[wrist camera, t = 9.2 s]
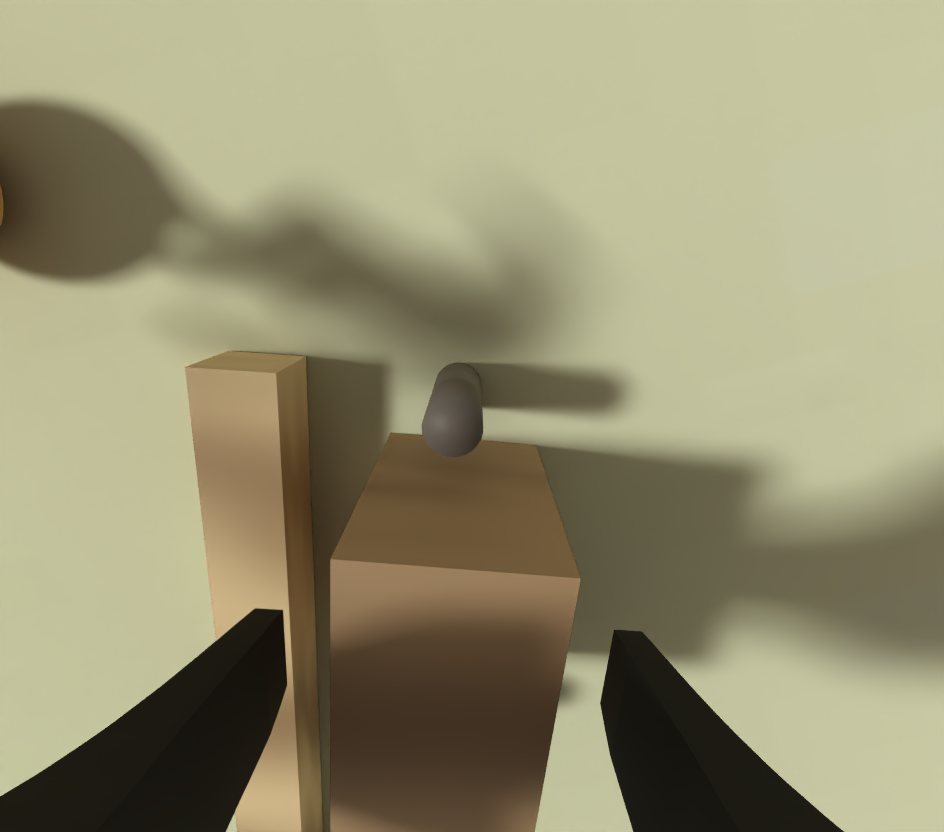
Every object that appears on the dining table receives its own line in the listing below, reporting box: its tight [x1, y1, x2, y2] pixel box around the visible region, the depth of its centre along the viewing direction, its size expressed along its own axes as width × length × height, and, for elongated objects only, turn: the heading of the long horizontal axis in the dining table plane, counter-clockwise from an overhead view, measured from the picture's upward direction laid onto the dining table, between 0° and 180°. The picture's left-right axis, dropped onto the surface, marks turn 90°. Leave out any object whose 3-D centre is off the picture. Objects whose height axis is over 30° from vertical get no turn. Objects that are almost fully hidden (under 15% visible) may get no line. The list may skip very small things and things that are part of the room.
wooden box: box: [330, 433, 581, 832], centre depth 12 cm, size 7×4×6 cm, turn 175°
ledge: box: [185, 351, 483, 832], centre depth 14 cm, size 21×7×4 cm, turn 176°
